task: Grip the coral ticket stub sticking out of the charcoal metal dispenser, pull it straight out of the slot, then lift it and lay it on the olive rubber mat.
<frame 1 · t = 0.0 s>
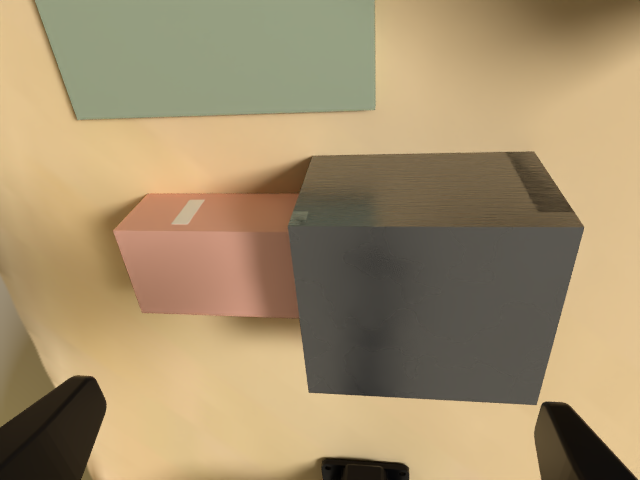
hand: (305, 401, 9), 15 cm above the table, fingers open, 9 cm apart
ticket: (274, 232, 25), on the table
dispenser: (415, 236, 24), on the table
mat: (209, 36, 20), on the table
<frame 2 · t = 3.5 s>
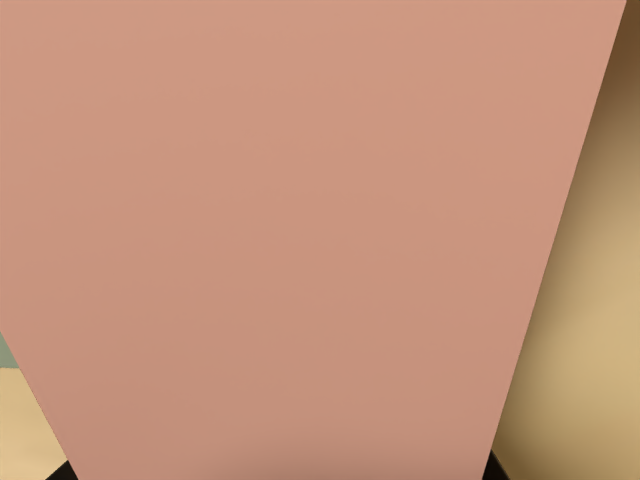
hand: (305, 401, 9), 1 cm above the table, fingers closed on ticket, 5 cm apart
ticket: (304, 167, 8), on the table, touching gripper
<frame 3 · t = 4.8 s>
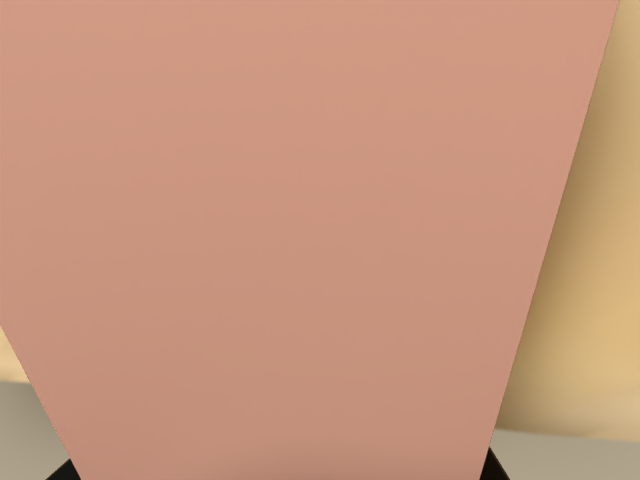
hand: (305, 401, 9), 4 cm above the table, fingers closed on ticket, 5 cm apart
ticket: (304, 167, 8), point 3 cm above the table, touching gripper
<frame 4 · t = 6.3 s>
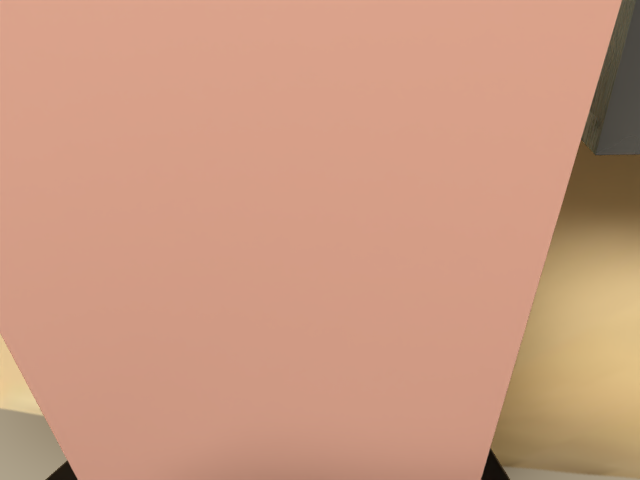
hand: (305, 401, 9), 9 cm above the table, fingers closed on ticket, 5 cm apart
ticket: (303, 171, 8), point 8 cm above the table, touching gripper
when the fingers open (2 cm above the table, at t = 7.6 s): ticket stays where it is, resting on mat.
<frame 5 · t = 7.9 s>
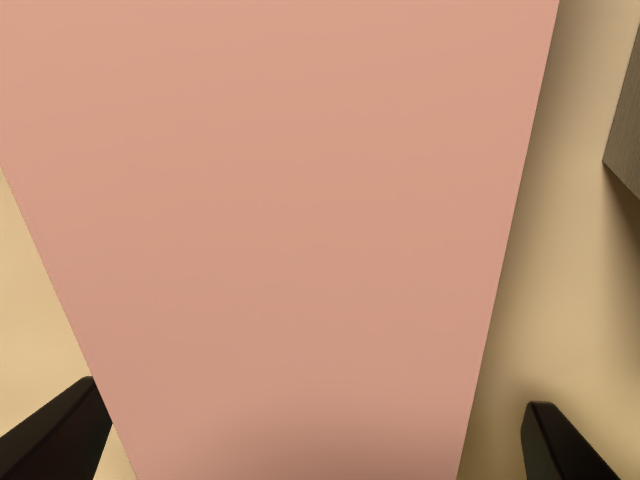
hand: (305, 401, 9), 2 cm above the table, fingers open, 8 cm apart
ticket: (310, 157, 9), point 1 cm above the table, touching mat
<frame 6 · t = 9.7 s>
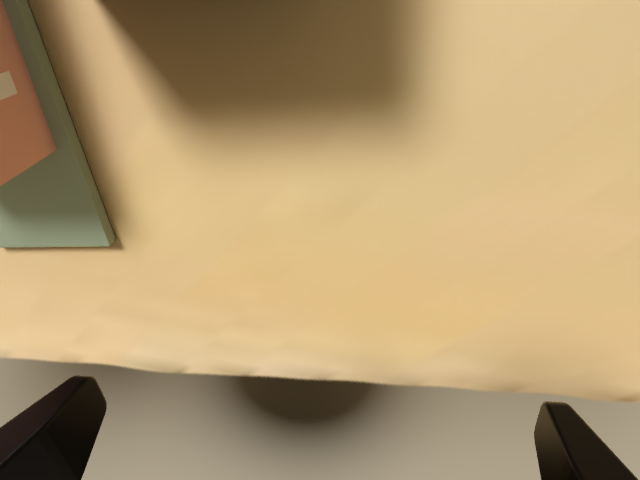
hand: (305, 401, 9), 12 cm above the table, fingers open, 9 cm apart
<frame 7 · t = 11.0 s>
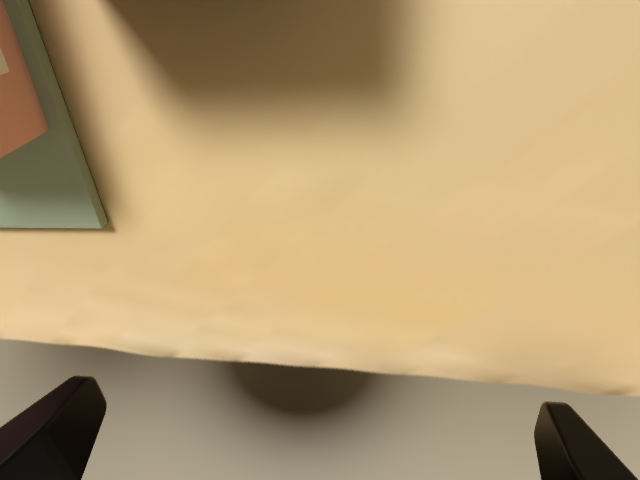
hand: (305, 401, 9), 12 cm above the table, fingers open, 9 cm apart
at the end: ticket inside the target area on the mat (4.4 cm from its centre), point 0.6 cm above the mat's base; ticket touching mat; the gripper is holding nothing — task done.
